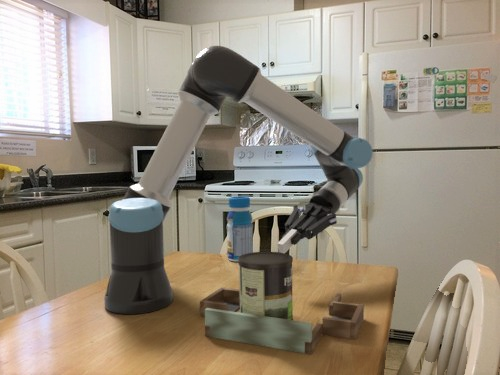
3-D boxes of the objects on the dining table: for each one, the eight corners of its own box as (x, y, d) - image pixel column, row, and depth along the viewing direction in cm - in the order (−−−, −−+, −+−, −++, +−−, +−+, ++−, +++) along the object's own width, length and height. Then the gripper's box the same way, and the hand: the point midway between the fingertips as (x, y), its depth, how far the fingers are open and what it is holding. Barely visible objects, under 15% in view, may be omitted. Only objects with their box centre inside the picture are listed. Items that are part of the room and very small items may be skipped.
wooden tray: (177, 331, 81) (176, 305, 80) (236, 289, 105) (235, 270, 105) (347, 360, 68) (347, 330, 68) (368, 306, 92) (369, 283, 92)
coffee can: (294, 320, 85) (294, 251, 84) (291, 343, 75) (291, 264, 74) (244, 318, 87) (243, 250, 86) (234, 340, 76) (233, 263, 75)
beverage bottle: (244, 263, 130) (243, 199, 129) (221, 260, 135) (220, 198, 133) (258, 257, 138) (257, 196, 136) (236, 255, 142) (235, 195, 141)
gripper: (351, 216, 114) (306, 268, 99) (309, 207, 122) (261, 254, 107) (349, 192, 111) (302, 242, 95) (306, 184, 118) (256, 229, 103)
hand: (280, 248), depth 101 cm, fingers closed
